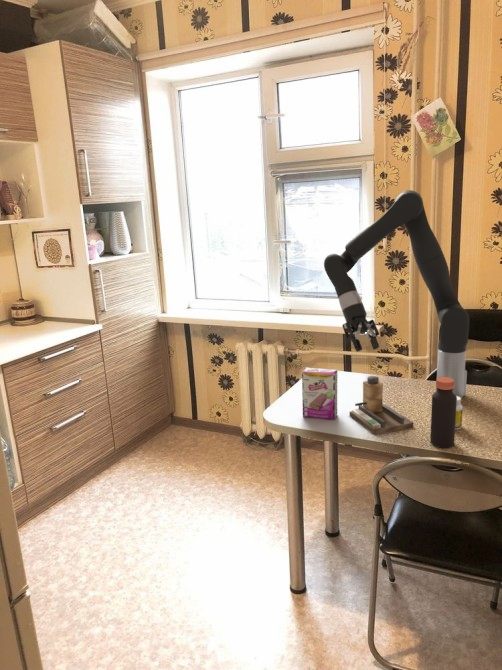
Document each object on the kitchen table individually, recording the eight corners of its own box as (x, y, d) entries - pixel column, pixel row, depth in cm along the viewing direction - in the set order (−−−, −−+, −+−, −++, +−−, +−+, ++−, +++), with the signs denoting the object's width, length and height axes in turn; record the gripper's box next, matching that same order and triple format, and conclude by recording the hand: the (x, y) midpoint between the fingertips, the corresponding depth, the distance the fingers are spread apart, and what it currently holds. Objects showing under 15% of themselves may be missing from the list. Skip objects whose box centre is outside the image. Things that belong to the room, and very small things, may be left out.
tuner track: (385, 408, 191) (386, 399, 190) (413, 426, 176) (413, 416, 175) (349, 415, 187) (349, 406, 186) (374, 434, 172) (374, 424, 171)
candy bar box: (302, 417, 187) (301, 371, 183) (305, 411, 192) (304, 366, 187) (335, 420, 184) (334, 373, 179) (337, 414, 188) (337, 368, 184)
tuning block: (375, 407, 188) (376, 374, 185) (382, 411, 184) (382, 378, 181) (352, 411, 185) (352, 379, 182) (358, 416, 182) (358, 382, 179)
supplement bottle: (463, 430, 172) (464, 401, 169) (444, 430, 173) (446, 400, 170) (460, 423, 177) (461, 394, 174) (442, 422, 178) (443, 394, 175)
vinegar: (457, 448, 161) (461, 383, 156) (434, 448, 161) (437, 384, 156) (449, 437, 168) (453, 375, 162) (427, 438, 168) (429, 376, 163)
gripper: (345, 303, 187) (361, 347, 182) (373, 301, 195) (389, 343, 191) (330, 312, 192) (346, 355, 188) (358, 310, 201) (374, 351, 197)
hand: (368, 349), depth 189 cm, fingers open, 8 cm apart
